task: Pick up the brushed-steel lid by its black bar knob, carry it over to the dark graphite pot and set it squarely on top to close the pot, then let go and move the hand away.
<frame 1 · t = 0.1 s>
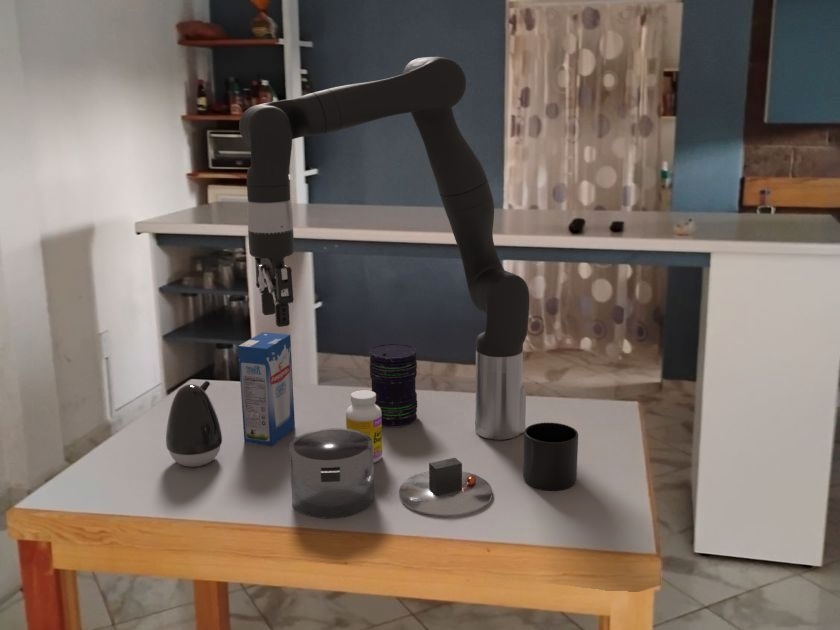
hand: (275, 319, 153), 29 cm above the table, tool pointing down, fingers open, 8 cm apart
milk carton: (270, 435, 179), on the table
supplement bottle: (365, 459, 168), on the table
lid: (445, 496, 153), on the table
mug: (549, 477, 160), on the table
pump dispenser: (196, 461, 167), on the table
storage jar: (394, 419, 187), on the table
pot: (333, 498, 152), on the table
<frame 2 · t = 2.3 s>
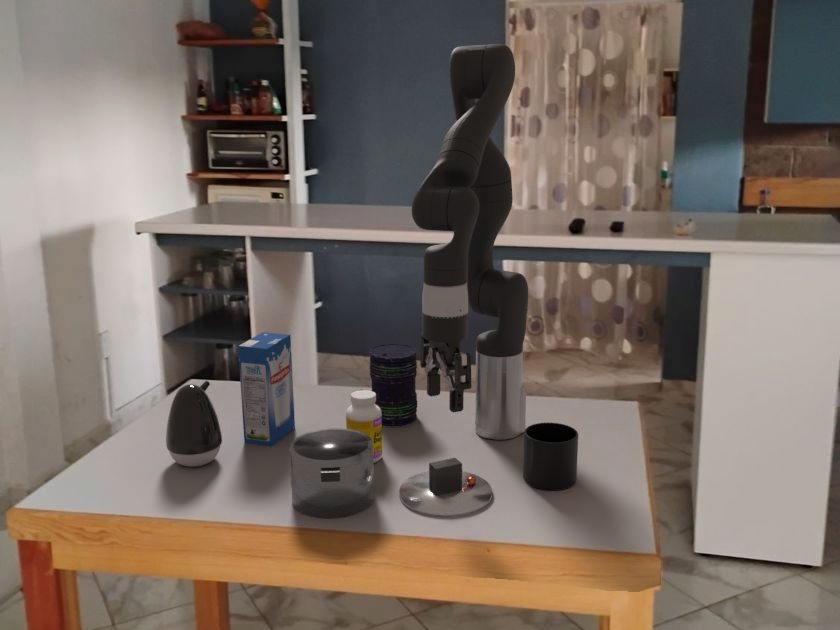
hand: (444, 402, 149), 17 cm above the table, tool pointing down, fingers open, 8 cm apart
nothing on the table moved.
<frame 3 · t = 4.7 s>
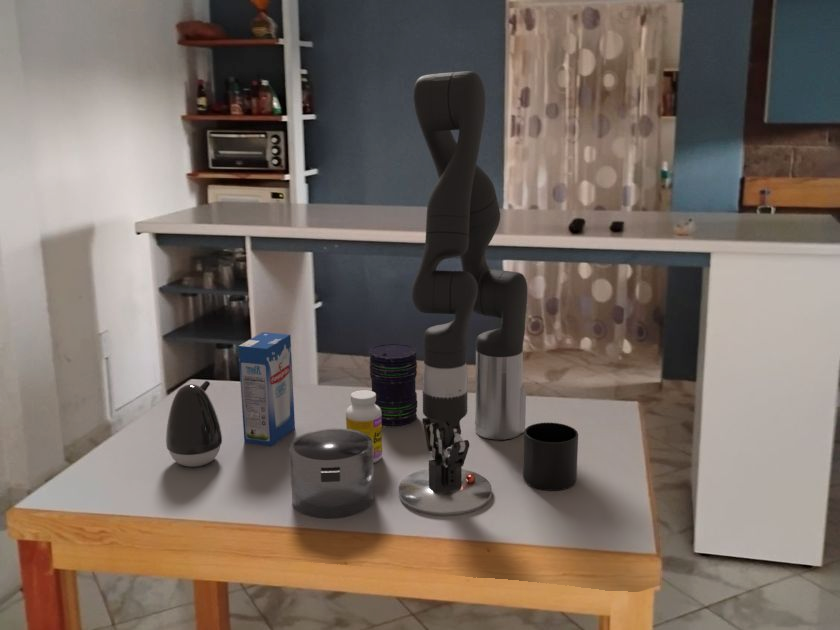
hand: (445, 481, 153), 2 cm above the table, tool pointing down, fingers closed on lid, 2 cm apart
lid: (445, 493, 153), on the table, touching gripper
everything else where it was.
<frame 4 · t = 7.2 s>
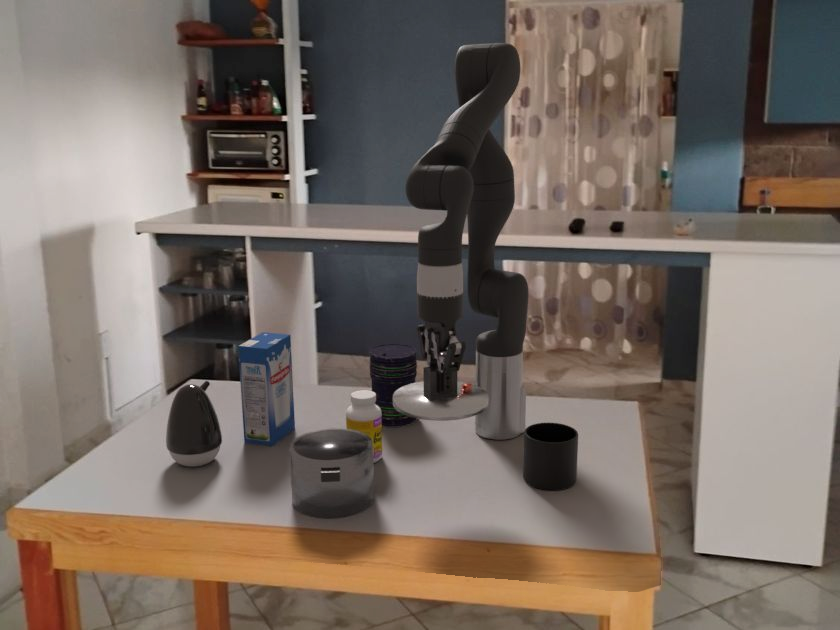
hand: (440, 389, 148), 19 cm above the table, tool pointing down, fingers closed on lid, 2 cm apart
lid: (440, 402, 148), point 17 cm above the table, touching gripper
everything else where it was.
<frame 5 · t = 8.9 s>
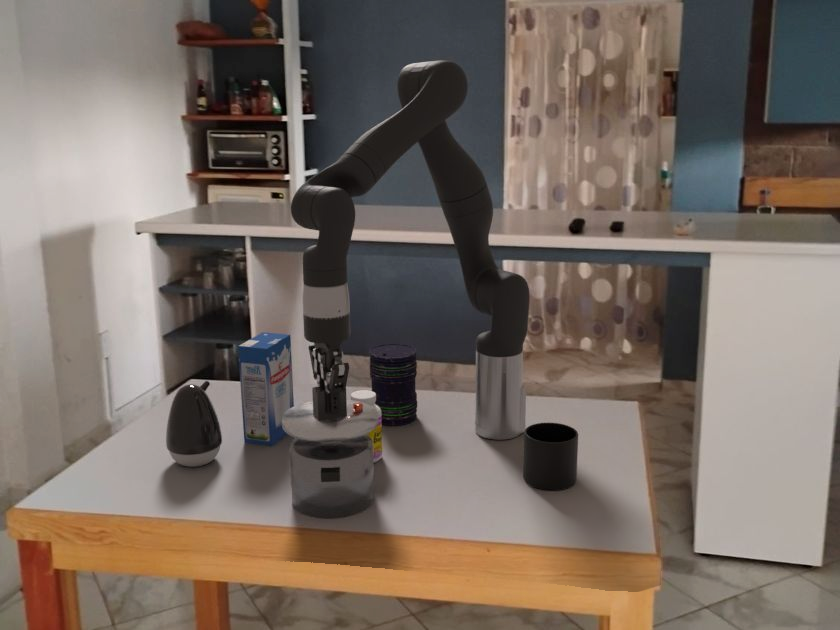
hand: (330, 409, 148), 16 cm above the table, tool pointing down, fingers closed on lid, 2 cm apart
lid: (330, 422, 148), point 14 cm above the table, touching gripper
everything else where it was.
when the fingers open (14 cm above the table, at t = 9.9 s): lid drops 1 cm, resting on pot.
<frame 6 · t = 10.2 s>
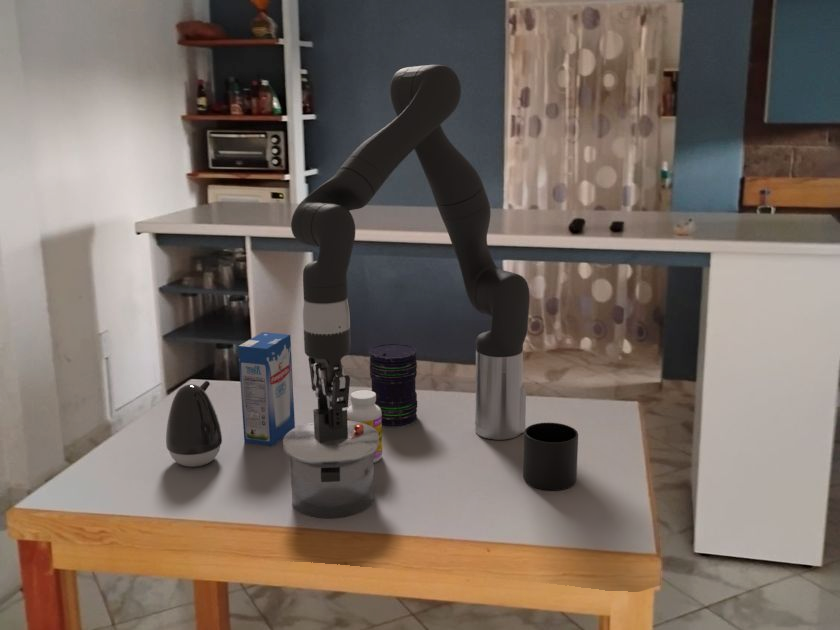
hand: (330, 423, 148), 14 cm above the table, tool pointing down, fingers open, 4 cm apart
lid: (331, 444, 149), point 10 cm above the table, touching pot
everything else where it was.
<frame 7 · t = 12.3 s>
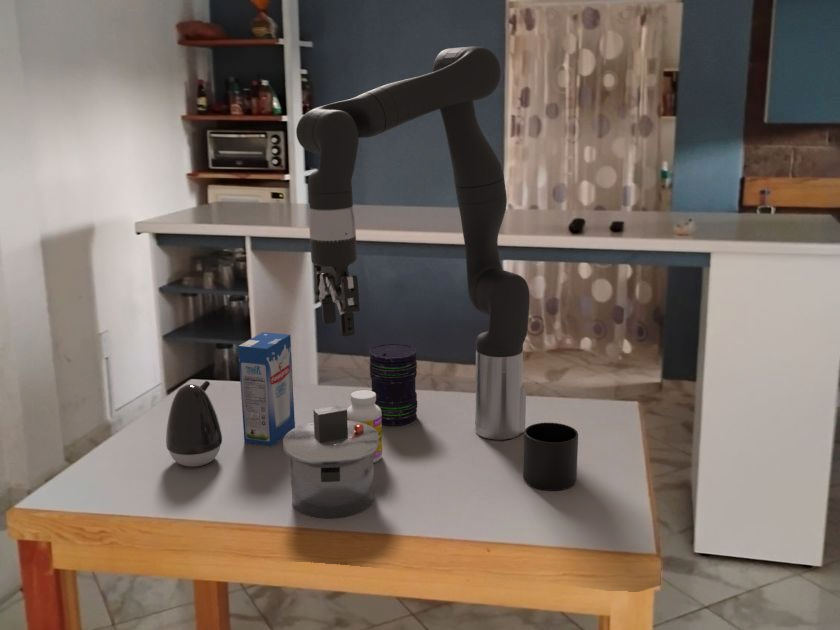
hand: (338, 329, 150), 29 cm above the table, tool pointing down, fingers open, 8 cm apart
nothing on the table moved.
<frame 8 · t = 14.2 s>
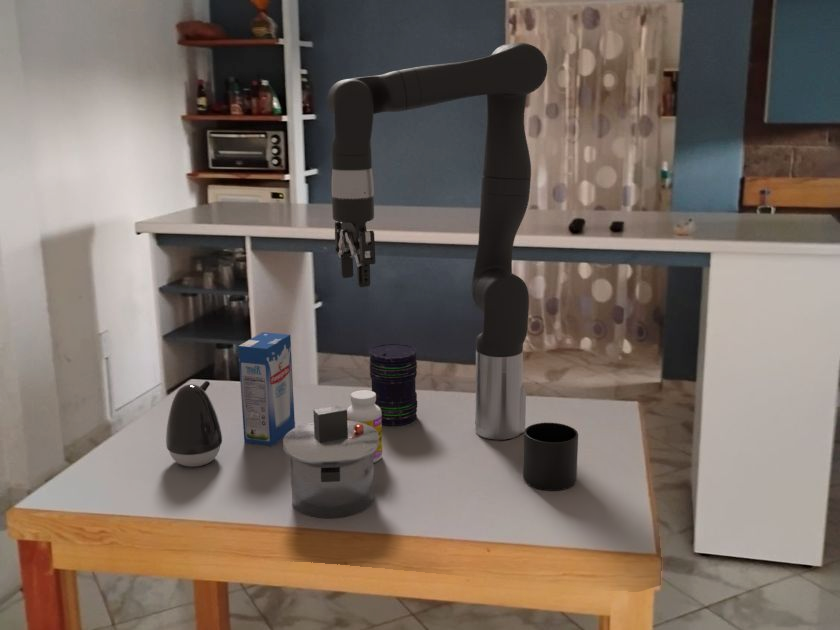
hand: (355, 281, 164), 33 cm above the table, tool pointing down, fingers open, 8 cm apart
nothing on the table moved.
at the end: lid 0.0 cm off-centre on the pot, point 10.0 cm above the pot's base; lid tilted 0°; the gripper is holding nothing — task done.
